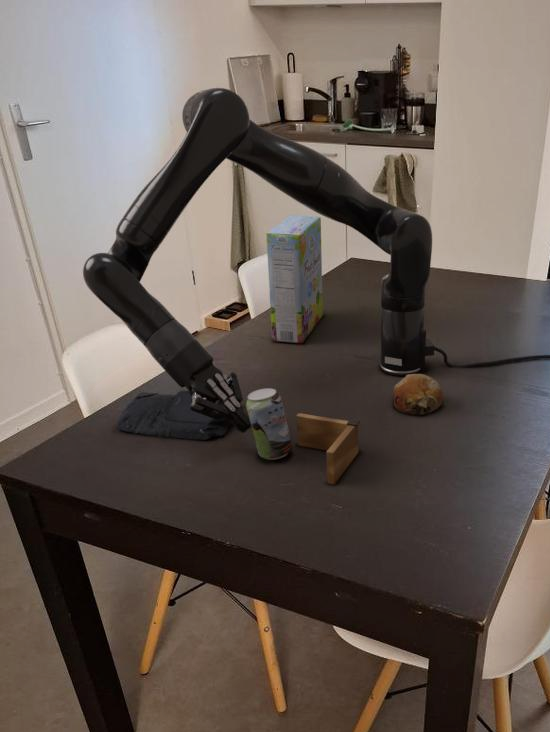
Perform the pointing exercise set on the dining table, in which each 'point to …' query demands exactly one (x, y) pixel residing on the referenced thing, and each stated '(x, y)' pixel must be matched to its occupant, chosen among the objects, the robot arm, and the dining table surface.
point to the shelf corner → (330, 440)
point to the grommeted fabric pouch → (169, 418)
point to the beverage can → (269, 423)
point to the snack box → (295, 277)
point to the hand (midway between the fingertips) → (248, 428)
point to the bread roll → (417, 394)
